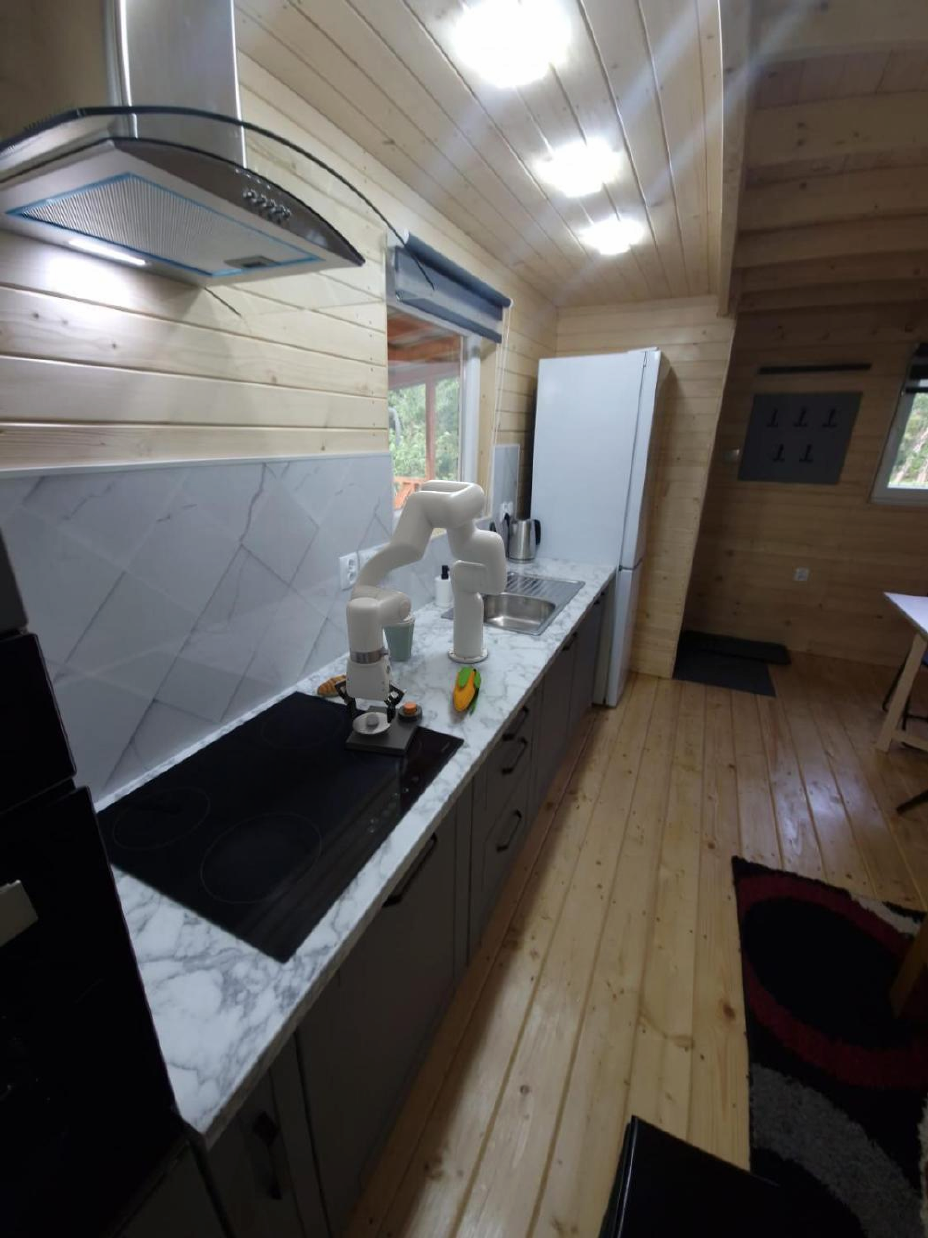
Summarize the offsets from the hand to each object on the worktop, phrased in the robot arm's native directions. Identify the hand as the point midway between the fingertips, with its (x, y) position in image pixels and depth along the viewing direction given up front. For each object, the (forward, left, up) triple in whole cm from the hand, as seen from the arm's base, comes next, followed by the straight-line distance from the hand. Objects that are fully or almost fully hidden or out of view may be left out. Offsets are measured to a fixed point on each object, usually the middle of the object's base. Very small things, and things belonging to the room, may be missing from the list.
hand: (371, 718), depth 117 cm
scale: (-2, +2, -5) cm, 6 cm away
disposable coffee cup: (-42, -7, -6) cm, 43 cm away
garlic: (0, 0, -1) cm, 1 cm away
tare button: (-8, +7, -2) cm, 11 cm away
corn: (-20, +19, -6) cm, 29 cm away
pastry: (-18, -18, -6) cm, 26 cm away
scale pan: (0, 0, -2) cm, 2 cm away
